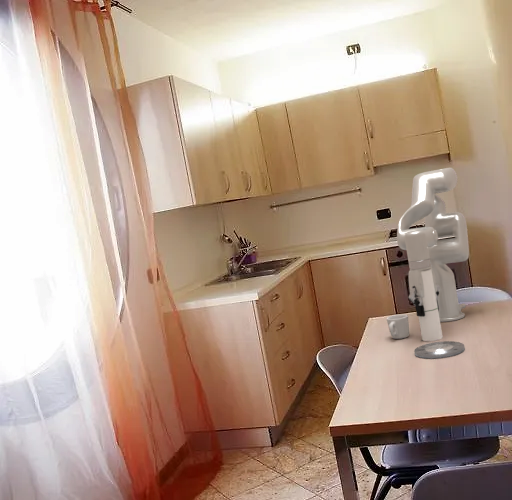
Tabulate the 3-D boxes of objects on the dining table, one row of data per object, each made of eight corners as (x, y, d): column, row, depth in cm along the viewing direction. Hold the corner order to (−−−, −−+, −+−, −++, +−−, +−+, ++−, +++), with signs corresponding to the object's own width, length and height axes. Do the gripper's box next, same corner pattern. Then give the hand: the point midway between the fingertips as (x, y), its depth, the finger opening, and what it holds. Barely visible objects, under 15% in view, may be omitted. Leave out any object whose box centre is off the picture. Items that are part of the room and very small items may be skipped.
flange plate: (435, 343, 216) (434, 339, 216) (474, 346, 203) (474, 342, 203) (404, 356, 206) (404, 352, 206) (444, 360, 193) (443, 356, 193)
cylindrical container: (440, 334, 226) (429, 267, 224) (444, 339, 219) (432, 269, 217) (420, 337, 227) (409, 270, 225) (424, 342, 220) (412, 273, 218)
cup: (403, 342, 225) (399, 320, 224) (383, 342, 230) (379, 321, 229) (414, 334, 233) (411, 313, 233) (395, 334, 238) (391, 314, 238)
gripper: (427, 260, 229) (434, 307, 230) (395, 270, 219) (404, 319, 220) (443, 259, 223) (451, 307, 224) (412, 269, 213) (420, 320, 214)
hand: (428, 313), depth 222 cm, fingers closed on cylindrical container, 7 cm apart
